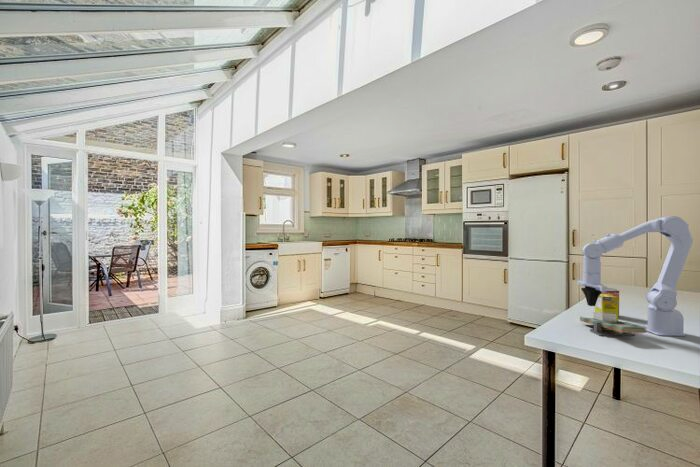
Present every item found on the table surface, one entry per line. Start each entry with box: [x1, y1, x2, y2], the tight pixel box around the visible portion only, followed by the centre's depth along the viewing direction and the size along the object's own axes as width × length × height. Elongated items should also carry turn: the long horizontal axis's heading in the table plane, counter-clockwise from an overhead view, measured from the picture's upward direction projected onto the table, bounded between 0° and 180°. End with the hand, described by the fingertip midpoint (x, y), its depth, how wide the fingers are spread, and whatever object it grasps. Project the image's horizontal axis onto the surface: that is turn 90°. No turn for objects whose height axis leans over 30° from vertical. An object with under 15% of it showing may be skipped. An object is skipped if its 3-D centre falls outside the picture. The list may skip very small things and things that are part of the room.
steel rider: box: [592, 311, 617, 323], centre depth 123 cm, size 5×5×4 cm
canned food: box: [601, 287, 620, 318], centre depth 144 cm, size 8×8×12 cm
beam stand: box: [589, 321, 636, 337], centre depth 119 cm, size 5×12×4 cm, turn 86°
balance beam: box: [579, 315, 647, 334], centre depth 120 cm, size 22×8×2 cm, turn 176°
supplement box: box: [594, 294, 619, 321], centre depth 135 cm, size 6×6×11 cm
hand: (591, 305), depth 130 cm, fingers closed
